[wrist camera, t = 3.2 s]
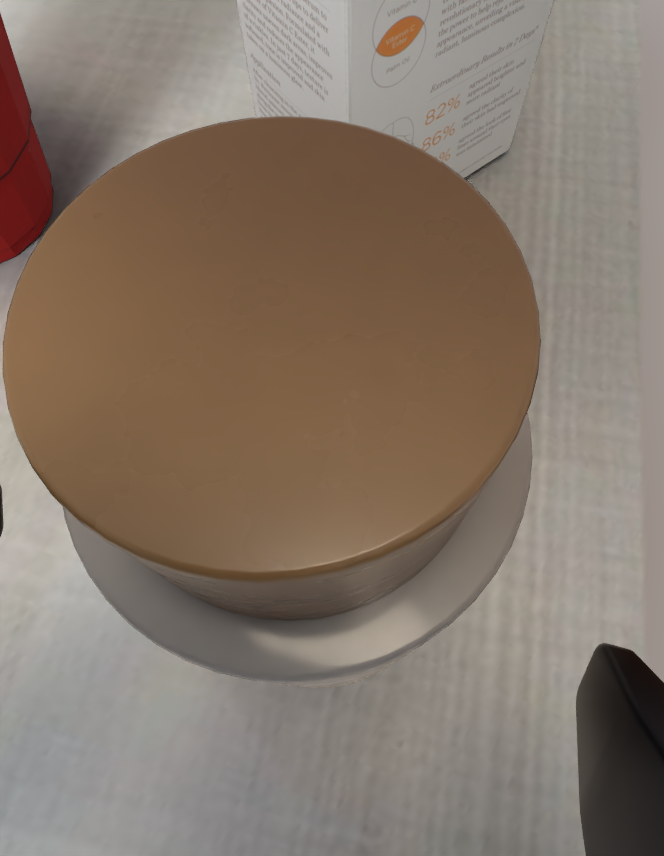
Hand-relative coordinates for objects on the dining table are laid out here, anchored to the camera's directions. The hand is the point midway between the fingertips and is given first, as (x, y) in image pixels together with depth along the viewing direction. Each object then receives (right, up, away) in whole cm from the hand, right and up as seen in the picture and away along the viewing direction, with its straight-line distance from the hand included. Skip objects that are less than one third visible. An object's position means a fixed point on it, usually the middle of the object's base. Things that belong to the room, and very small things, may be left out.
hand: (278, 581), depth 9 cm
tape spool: (+1, -2, +9) cm, 9 cm away
